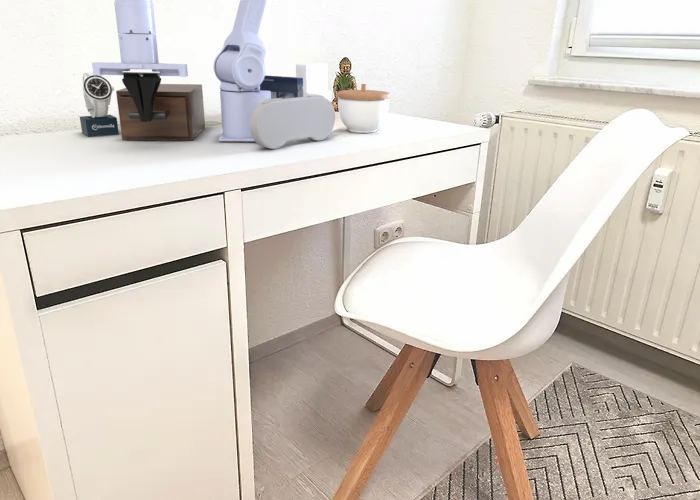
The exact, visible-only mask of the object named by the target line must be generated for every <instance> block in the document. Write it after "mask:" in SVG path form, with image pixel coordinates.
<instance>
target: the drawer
mask: <svg viewBox="0 0 700 500" xmlns="http://www.w3.org/2000/svg"><path fill="white" fill-rule="evenodd" d="M118 99H119V107H120V115H121V122H122V130H123V136H167V137H188V136H189V124H188V112H187V100H186V97H182V96H156V97H155V100H154V105H153V112H152V121H150V122H141V120H140V116H139V113H138V110H137V108H136V105H135V103H134V101H133V99H132V97H131V96H120V97H118Z"/></svg>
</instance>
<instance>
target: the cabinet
mask: <svg viewBox="0 0 700 500" xmlns="http://www.w3.org/2000/svg"><path fill="white" fill-rule="evenodd" d="M115 94H116V102H117V109H118V117H119V126H120V133H121V140H122V141H194V140H195V139H196V138H197V137H198V136H199V135H200V134H201V133H202V132H203V130H204V129H206V121H205V107H204V106H205V105H204V93H203V84H201V83H200V84H199V83H198V84H197V83H196V84H195V83H194V84H192V83H191V84H189V83H160V85H159V88H158V90H157V93H156V96H182V97H186V100H187V112H188V124H189V136H188V137H167V136H123V130H122V122H121V115H120V107H119V99H118V97H120V96H131V95H130V93H129V92H128V90H127V88H126V87H123V88H121V89H118V90H116V91H115Z"/></svg>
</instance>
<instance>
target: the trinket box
mask: <svg viewBox="0 0 700 500" xmlns="http://www.w3.org/2000/svg"><path fill="white" fill-rule="evenodd" d="M360 85H361V87H360V89H343V90H339V91H337V94H336V95H337V110H338V115H339V118H340V121H341V123H342V125H344V126H345V127H346V128H347V131H348V132H350V133H356V134H357V133H359V134H370V133H371V134H372V133H376V132H378V129H379V128H381V126H382V125H384V123H385V121H386V119H387V115H388V113H389V112H388V111H389V106H390V105H389V104H390V97H391V94H390V93H389V92H388V91H383V90H374V89H367V83H361V84H360Z"/></svg>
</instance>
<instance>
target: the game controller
mask: <svg viewBox="0 0 700 500" xmlns="http://www.w3.org/2000/svg"><path fill="white" fill-rule="evenodd" d="M335 111H336V110H335V108H334V105H333V103H332V101H331V102H330V100H329V99H327V98H325V96H323V95H307V97H296V98H286V99H282V98H274V99H267V100H264V101H262V103H260V104H259V105H258V106H257V107H256V108H255V110H254V111H253V114H252V116H251V121H250V130H251V134H252V137H253V139H254V140H255V143H256V144H257V145H258V146H259V147H262V148H264V149H269V150H270V149H271V150H277V149H279V148H281V147H283V146H284V145H285V144H286V143H287V142H290V141H297V140H302V139H308V140H312V141H316V142H319V141H323V140H325V139H327V138H328V137H329V136H330V135H331V133H332V131H333V129H334V127H335V122H336V112H335Z"/></svg>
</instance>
